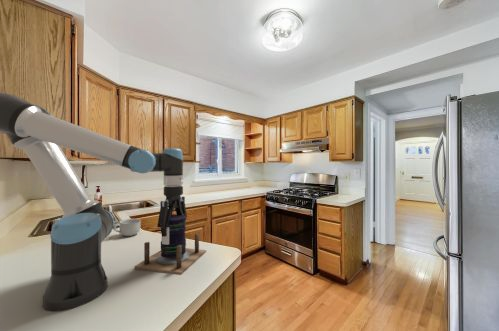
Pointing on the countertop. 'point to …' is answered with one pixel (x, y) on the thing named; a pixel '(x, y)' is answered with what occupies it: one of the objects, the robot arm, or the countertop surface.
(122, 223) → the teacup
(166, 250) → the storage jar
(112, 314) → the countertop surface
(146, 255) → the walnut stand
